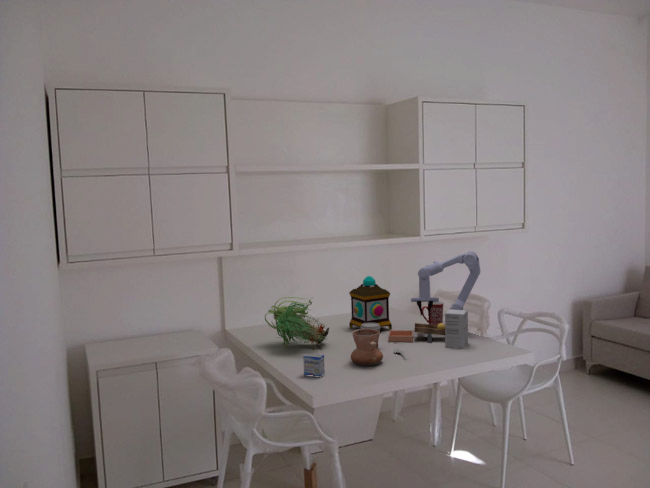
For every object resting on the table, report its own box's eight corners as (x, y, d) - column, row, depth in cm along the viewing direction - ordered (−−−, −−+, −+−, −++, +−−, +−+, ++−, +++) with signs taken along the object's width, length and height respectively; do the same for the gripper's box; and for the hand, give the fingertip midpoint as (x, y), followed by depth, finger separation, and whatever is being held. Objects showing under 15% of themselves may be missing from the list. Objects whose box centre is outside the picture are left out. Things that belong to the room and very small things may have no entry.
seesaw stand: (431, 336, 292) (431, 327, 291) (431, 342, 279) (431, 333, 279) (427, 336, 292) (427, 327, 292) (427, 342, 280) (427, 333, 279)
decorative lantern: (346, 328, 315) (344, 275, 313) (376, 323, 324) (374, 272, 322) (364, 335, 298) (362, 279, 295) (395, 330, 306) (394, 276, 304)
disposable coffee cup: (367, 345, 279) (367, 321, 277) (384, 347, 273) (383, 323, 272) (357, 350, 271) (356, 325, 270) (374, 352, 265) (373, 327, 264)
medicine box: (303, 376, 235) (302, 356, 234) (307, 372, 239) (306, 353, 238) (321, 377, 232) (320, 357, 231) (325, 374, 236) (324, 354, 235)
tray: (413, 336, 293) (413, 330, 293) (412, 342, 281) (412, 336, 281) (390, 335, 295) (389, 330, 295) (388, 342, 283) (388, 336, 283)
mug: (440, 324, 317) (440, 300, 316) (446, 327, 308) (446, 303, 307) (419, 325, 315) (418, 302, 314) (424, 329, 306) (423, 305, 305)
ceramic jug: (390, 366, 244) (389, 334, 243) (359, 370, 240) (358, 337, 238) (373, 355, 261) (372, 325, 260) (344, 359, 256) (343, 328, 255)
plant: (326, 344, 257) (258, 310, 261) (311, 378, 278) (249, 346, 283) (349, 300, 279) (287, 269, 283) (334, 334, 300) (276, 305, 304)
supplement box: (449, 342, 279) (449, 308, 277) (468, 343, 275) (468, 310, 273) (445, 347, 270) (444, 312, 269) (464, 349, 266) (463, 314, 265)
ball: (444, 330, 286) (445, 322, 285) (445, 332, 282) (445, 324, 281) (436, 329, 286) (437, 321, 286) (437, 331, 283) (437, 323, 282)
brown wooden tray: (445, 329, 294) (446, 323, 294) (446, 337, 279) (447, 330, 279) (414, 326, 297) (415, 320, 297) (414, 333, 282) (414, 327, 281)
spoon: (399, 351, 268) (399, 347, 268) (416, 363, 248) (416, 359, 248) (391, 352, 267) (391, 348, 267) (407, 364, 247) (407, 360, 247)
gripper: (438, 288, 300) (438, 313, 301) (410, 288, 303) (411, 313, 304) (438, 290, 293) (439, 316, 295) (410, 291, 296) (411, 316, 297)
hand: (425, 315), depth 299 cm, fingers open, 3 cm apart
